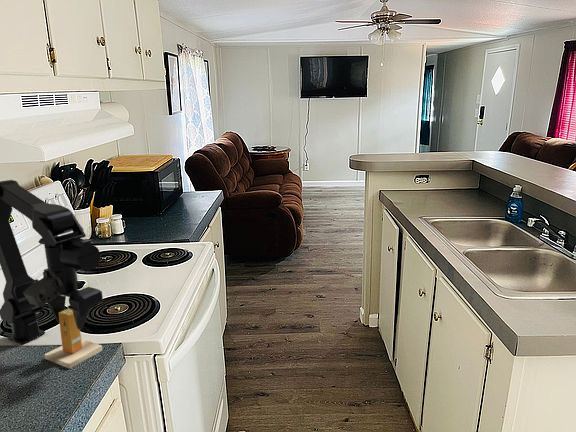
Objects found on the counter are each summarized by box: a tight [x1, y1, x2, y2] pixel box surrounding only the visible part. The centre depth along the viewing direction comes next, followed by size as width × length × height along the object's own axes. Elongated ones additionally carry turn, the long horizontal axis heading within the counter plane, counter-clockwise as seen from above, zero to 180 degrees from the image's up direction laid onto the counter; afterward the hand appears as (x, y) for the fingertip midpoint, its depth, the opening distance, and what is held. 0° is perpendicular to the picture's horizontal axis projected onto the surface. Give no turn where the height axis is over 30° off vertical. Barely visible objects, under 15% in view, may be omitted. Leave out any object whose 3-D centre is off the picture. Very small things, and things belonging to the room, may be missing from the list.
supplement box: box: [59, 308, 82, 354], centre depth 106 cm, size 3×3×10 cm
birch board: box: [44, 338, 104, 369], centre depth 107 cm, size 9×9×1 cm
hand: (70, 325), depth 105 cm, fingers open, 7 cm apart
